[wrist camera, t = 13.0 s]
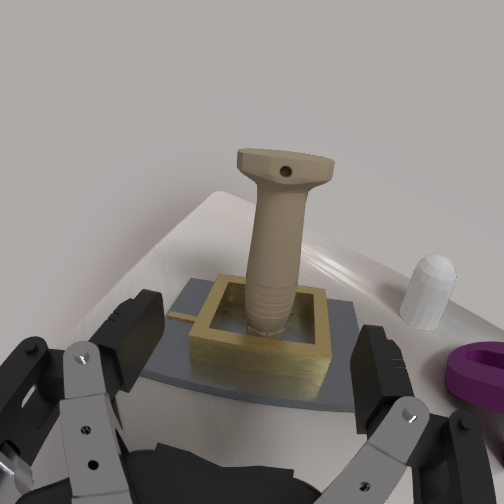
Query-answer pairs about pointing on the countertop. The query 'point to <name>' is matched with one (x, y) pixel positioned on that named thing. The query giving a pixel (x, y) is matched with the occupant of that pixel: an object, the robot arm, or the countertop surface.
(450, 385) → the mounting bracket
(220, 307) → the plate
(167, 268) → the countertop surface
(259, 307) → the handle
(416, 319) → the capsule
